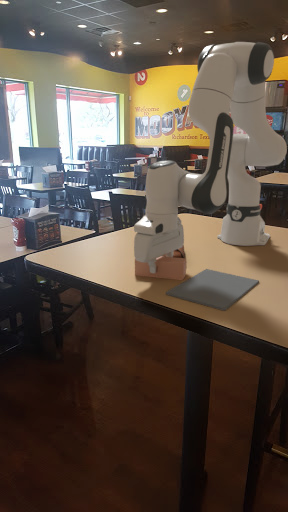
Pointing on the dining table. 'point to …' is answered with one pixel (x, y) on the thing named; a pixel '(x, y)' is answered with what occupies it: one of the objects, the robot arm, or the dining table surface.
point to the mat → (213, 289)
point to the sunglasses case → (178, 253)
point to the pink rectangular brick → (163, 268)
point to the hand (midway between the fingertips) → (160, 269)
